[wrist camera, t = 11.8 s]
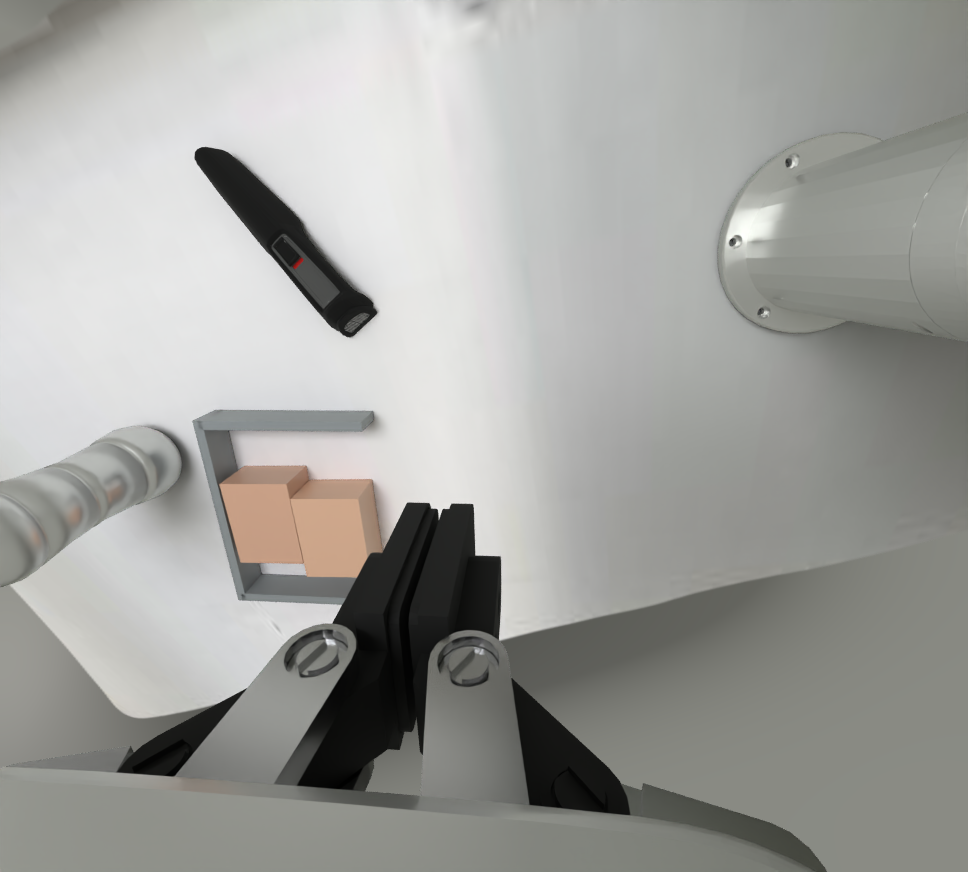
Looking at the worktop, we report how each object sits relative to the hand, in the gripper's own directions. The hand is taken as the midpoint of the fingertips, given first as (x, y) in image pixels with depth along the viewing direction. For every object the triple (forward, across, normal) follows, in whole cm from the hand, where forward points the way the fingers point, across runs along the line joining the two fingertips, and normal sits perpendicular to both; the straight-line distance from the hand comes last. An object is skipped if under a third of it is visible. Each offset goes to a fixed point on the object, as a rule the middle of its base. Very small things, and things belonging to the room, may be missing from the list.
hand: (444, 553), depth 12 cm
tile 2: (+27, +15, +16) cm, 35 cm away
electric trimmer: (+28, +16, -8) cm, 33 cm away
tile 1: (+27, +21, +14) cm, 37 cm away
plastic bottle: (+27, +32, +9) cm, 43 cm away
